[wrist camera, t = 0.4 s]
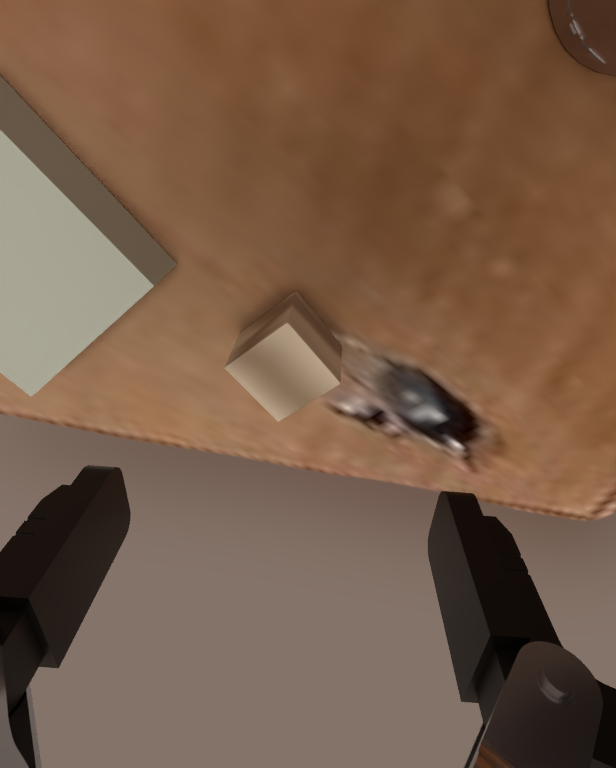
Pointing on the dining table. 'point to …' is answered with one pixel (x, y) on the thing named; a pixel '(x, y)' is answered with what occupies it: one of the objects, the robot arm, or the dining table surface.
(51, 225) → the plate
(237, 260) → the dining table surface
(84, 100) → the dining table surface
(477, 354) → the dining table surface
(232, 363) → the maple cube
